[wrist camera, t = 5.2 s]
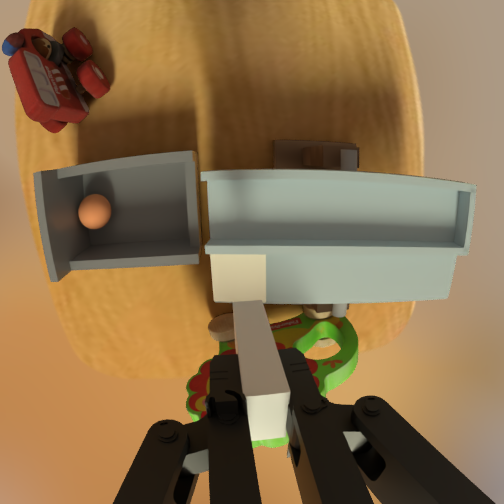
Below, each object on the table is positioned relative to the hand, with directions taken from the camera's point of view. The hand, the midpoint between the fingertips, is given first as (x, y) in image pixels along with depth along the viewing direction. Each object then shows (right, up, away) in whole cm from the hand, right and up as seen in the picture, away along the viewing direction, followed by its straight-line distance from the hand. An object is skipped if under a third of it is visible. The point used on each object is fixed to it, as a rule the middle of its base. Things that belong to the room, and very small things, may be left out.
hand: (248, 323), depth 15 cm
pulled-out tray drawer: (-11, +8, +11) cm, 17 cm away
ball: (-14, +7, +8) cm, 18 cm away
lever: (+7, +5, +7) cm, 11 cm away
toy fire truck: (-18, +21, +6) cm, 28 cm away
